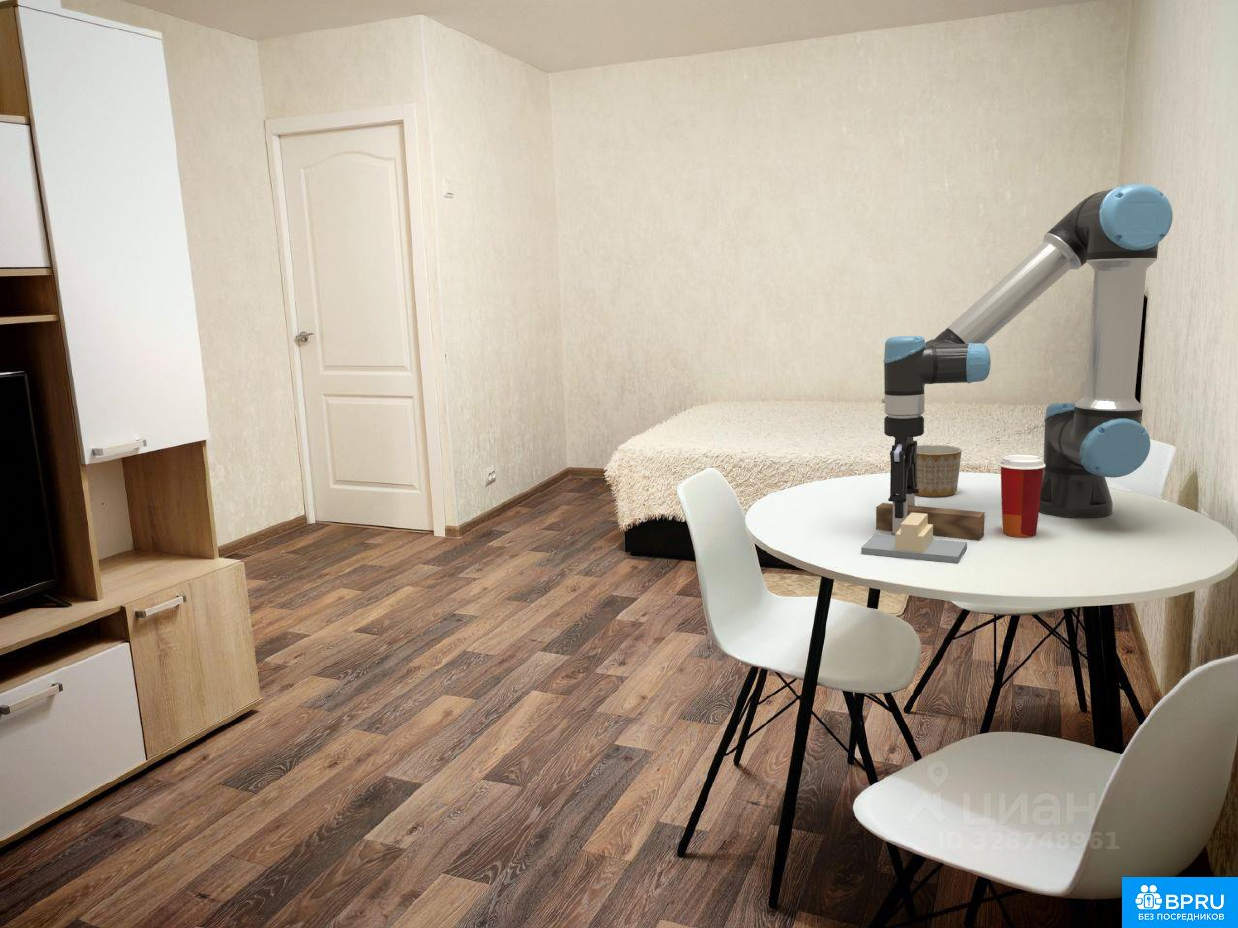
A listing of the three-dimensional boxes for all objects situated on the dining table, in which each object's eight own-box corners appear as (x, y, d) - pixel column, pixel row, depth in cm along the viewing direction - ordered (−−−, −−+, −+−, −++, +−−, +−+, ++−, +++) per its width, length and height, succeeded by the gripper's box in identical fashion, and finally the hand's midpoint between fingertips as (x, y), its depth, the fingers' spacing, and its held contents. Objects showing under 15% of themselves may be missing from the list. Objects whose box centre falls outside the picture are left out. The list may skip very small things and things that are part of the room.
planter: (921, 484, 222) (921, 443, 220) (970, 491, 212) (971, 447, 211) (893, 494, 213) (894, 450, 211) (943, 501, 204) (944, 456, 202)
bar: (984, 537, 175) (984, 512, 174) (979, 542, 172) (979, 516, 171) (882, 526, 187) (882, 502, 186) (876, 530, 183) (876, 506, 182)
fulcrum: (966, 548, 167) (967, 516, 166) (957, 563, 159) (958, 529, 158) (874, 539, 176) (874, 509, 175) (861, 553, 167) (861, 521, 166)
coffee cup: (1040, 528, 178) (1043, 454, 175) (1044, 540, 171) (1048, 462, 168) (994, 527, 181) (996, 453, 178) (997, 538, 173) (999, 461, 171)
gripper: (895, 408, 187) (895, 516, 191) (872, 421, 171) (873, 539, 175) (933, 409, 184) (932, 519, 188) (913, 422, 167) (913, 542, 172)
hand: (903, 528), depth 182 cm, fingers open, 6 cm apart
